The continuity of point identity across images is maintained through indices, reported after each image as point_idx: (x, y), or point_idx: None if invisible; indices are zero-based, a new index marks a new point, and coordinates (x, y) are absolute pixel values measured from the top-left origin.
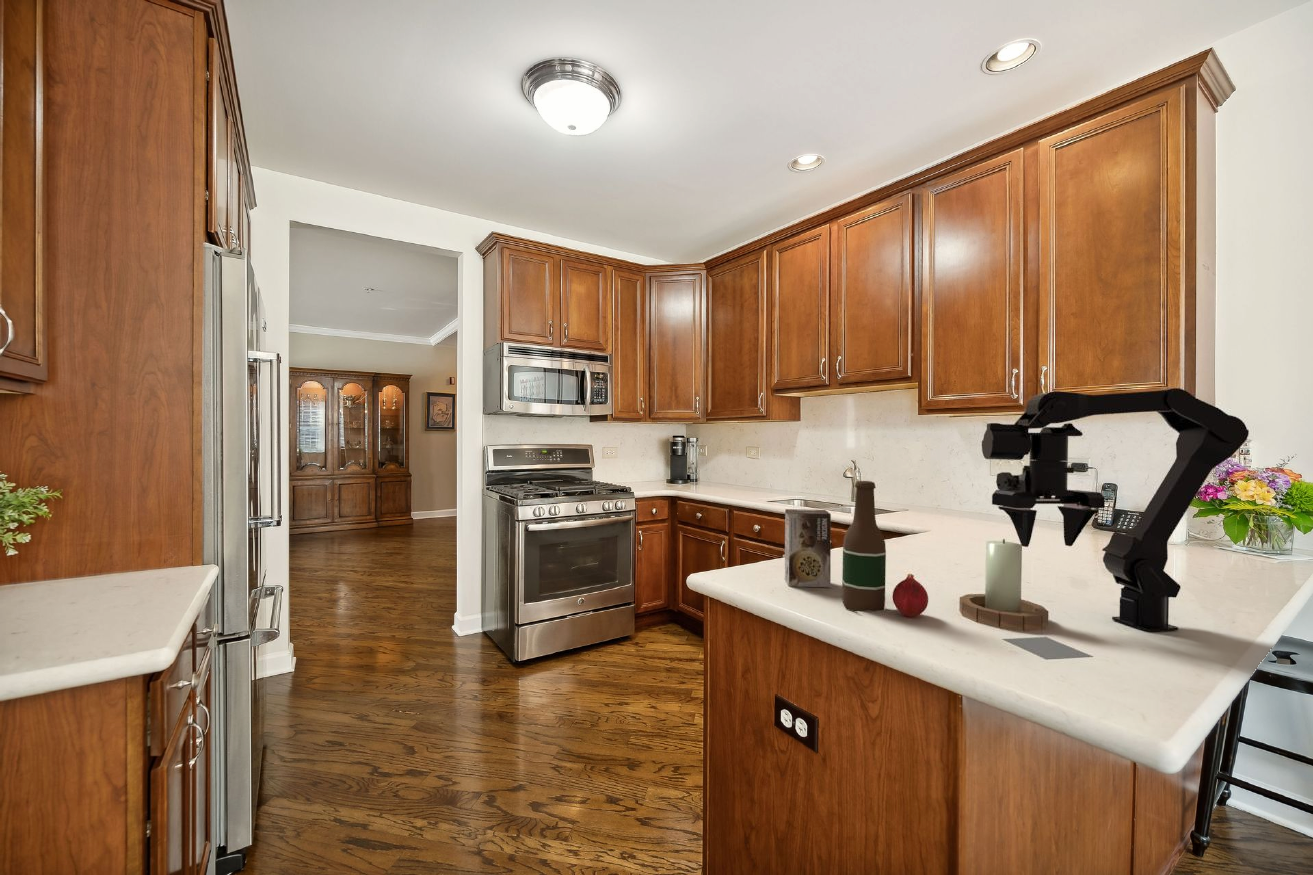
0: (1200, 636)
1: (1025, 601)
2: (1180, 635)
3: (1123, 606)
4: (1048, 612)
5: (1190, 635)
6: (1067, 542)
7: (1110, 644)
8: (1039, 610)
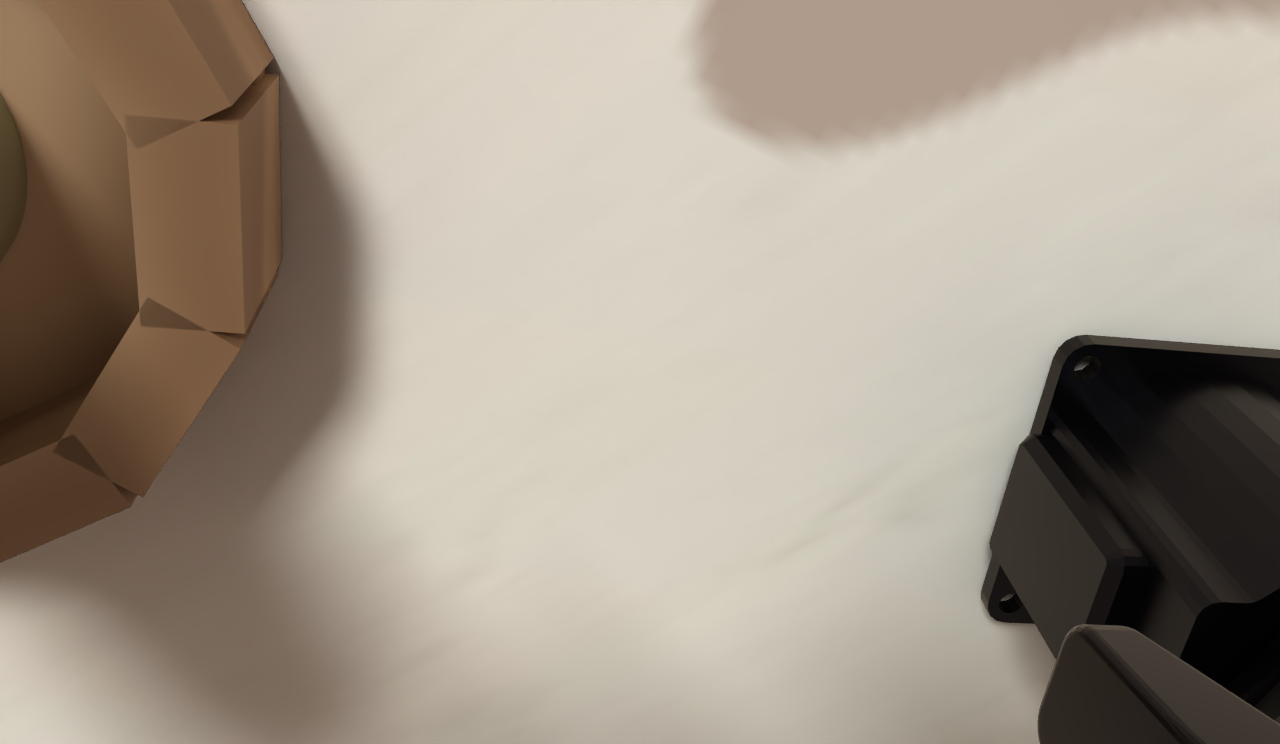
0: None
1: (186, 154)
2: None
3: (1061, 549)
4: (130, 505)
5: None
6: (1083, 731)
7: (397, 720)
8: (62, 459)
